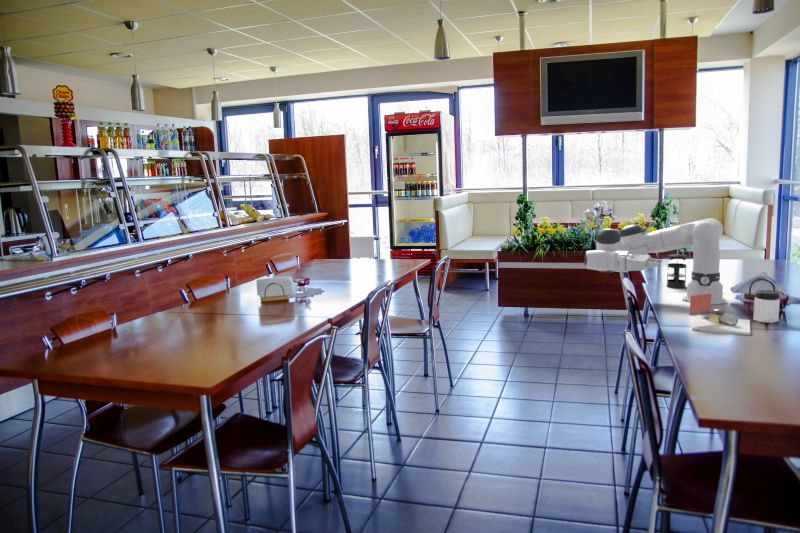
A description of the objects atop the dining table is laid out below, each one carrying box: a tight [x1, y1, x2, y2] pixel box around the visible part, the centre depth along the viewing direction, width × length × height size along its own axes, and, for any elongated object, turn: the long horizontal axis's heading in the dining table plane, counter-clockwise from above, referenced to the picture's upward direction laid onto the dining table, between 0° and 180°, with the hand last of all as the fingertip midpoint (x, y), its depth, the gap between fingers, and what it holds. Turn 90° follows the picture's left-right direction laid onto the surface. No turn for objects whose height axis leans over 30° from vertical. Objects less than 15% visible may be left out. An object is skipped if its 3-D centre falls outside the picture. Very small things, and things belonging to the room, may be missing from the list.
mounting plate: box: [691, 315, 751, 336], centre depth 251 cm, size 22×20×1 cm
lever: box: [688, 294, 726, 317], centre depth 251 cm, size 16×4×8 cm, turn 107°
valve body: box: [700, 312, 739, 326], centre depth 254 cm, size 16×5×4 cm, turn 17°
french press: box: [666, 249, 688, 289], centre depth 332 cm, size 12×9×23 cm
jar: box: [752, 289, 781, 324], centre depth 257 cm, size 9×8×12 cm
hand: (659, 263), depth 254 cm, fingers open, 6 cm apart
